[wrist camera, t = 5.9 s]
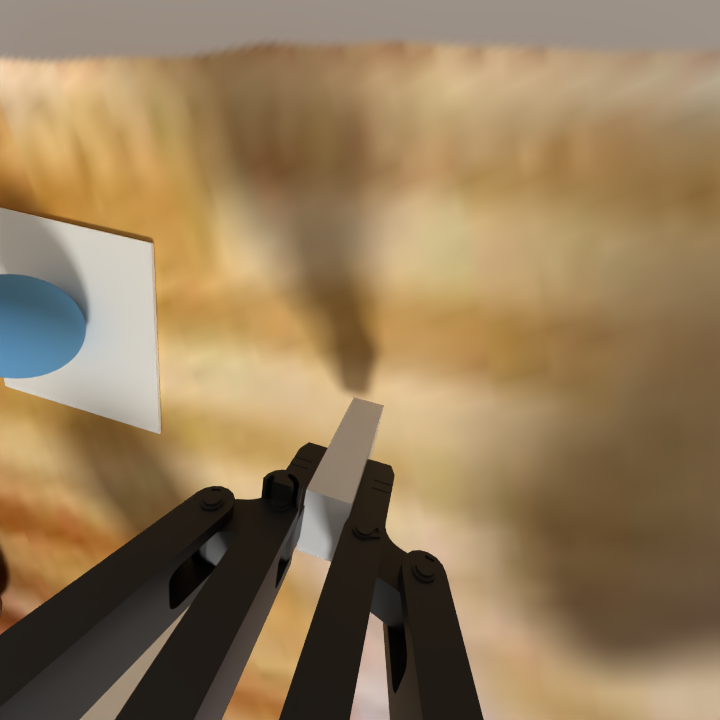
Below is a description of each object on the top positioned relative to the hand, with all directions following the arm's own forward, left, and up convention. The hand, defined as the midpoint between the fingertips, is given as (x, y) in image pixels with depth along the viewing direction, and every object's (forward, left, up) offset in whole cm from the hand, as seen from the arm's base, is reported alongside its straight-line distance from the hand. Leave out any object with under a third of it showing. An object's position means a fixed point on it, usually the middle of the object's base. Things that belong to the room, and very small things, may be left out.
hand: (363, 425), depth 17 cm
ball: (+19, -1, +1) cm, 19 cm away
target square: (+19, 0, -2) cm, 19 cm away
